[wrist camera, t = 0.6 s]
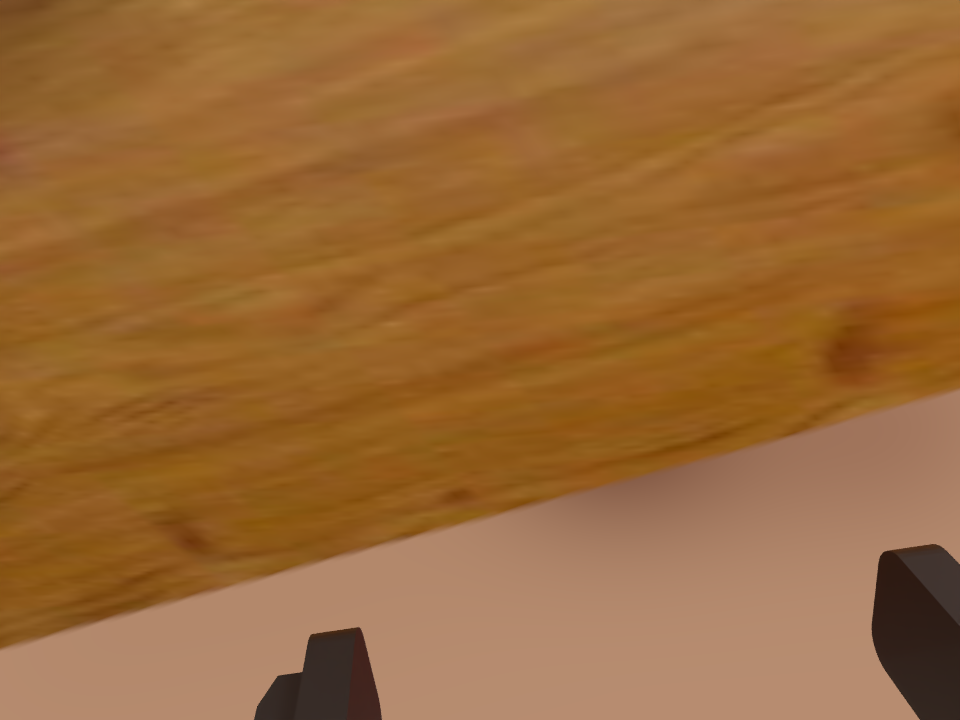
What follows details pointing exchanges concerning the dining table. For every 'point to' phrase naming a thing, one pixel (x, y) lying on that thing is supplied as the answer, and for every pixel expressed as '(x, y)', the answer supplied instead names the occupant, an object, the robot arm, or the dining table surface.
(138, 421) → the dining table surface
